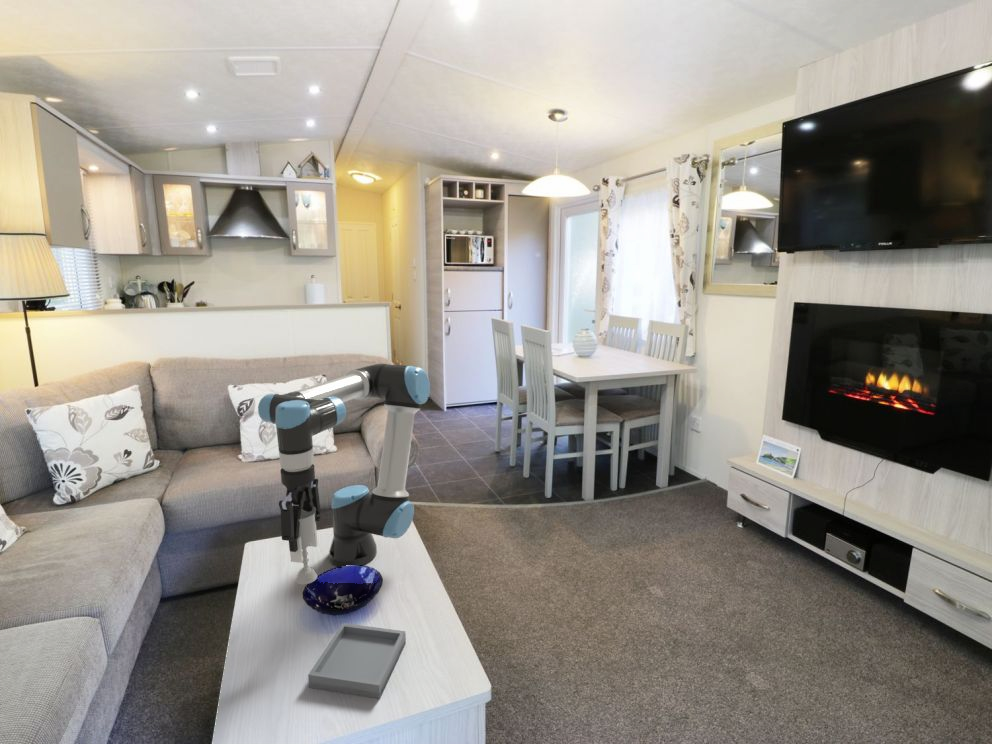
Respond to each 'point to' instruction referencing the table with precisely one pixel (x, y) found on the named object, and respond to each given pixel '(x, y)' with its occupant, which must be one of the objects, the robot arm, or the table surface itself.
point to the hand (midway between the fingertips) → (304, 553)
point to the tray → (358, 660)
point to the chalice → (306, 545)
